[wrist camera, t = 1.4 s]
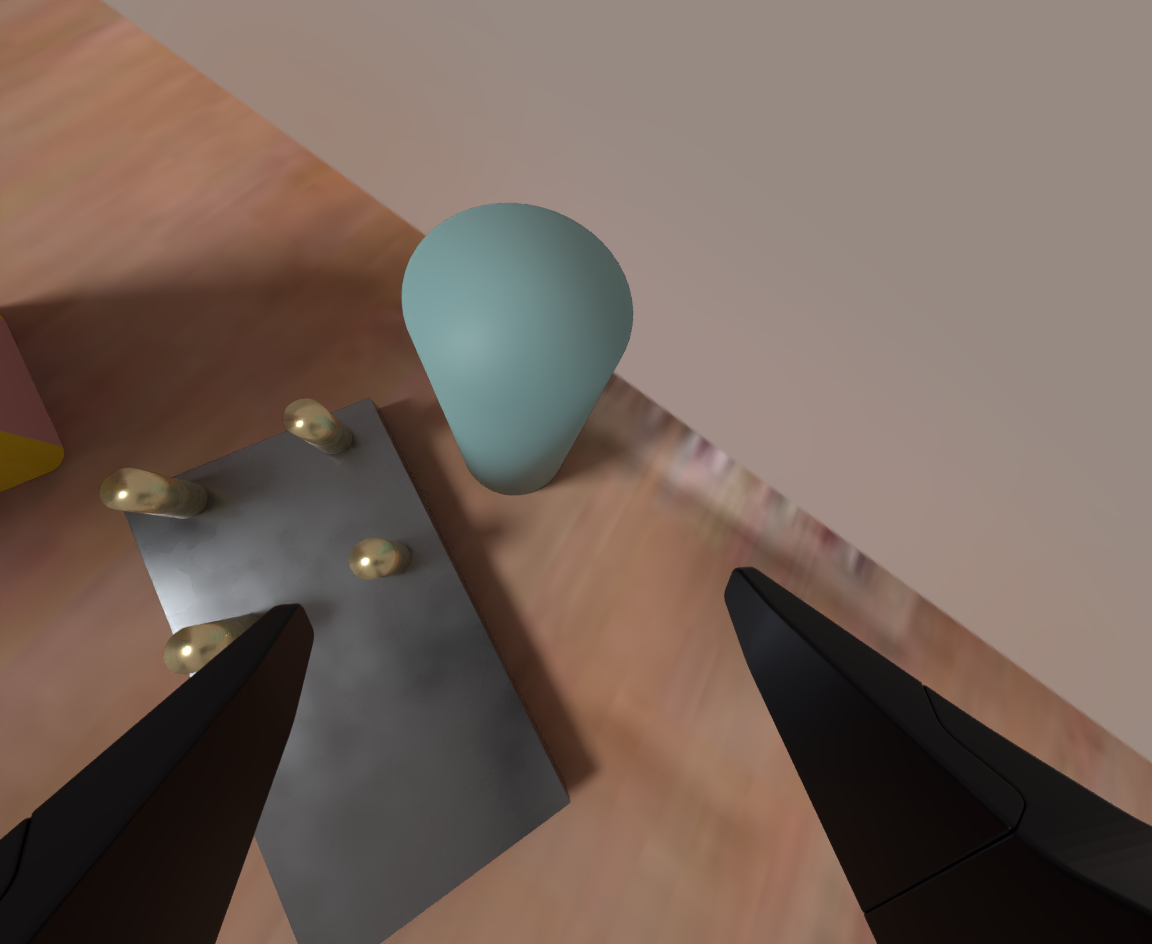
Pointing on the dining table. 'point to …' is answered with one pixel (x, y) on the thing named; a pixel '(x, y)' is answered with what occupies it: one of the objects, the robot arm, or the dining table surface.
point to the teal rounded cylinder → (516, 335)
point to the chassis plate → (351, 667)
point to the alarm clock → (23, 421)
